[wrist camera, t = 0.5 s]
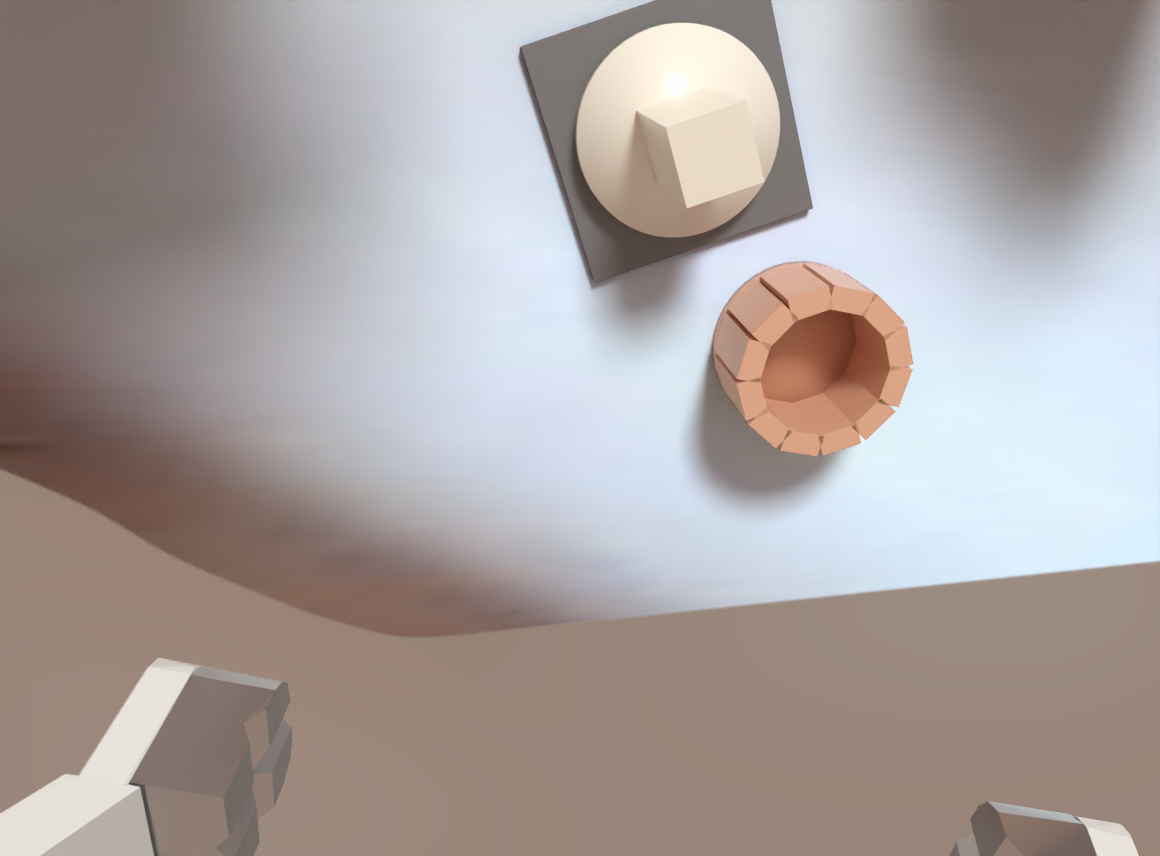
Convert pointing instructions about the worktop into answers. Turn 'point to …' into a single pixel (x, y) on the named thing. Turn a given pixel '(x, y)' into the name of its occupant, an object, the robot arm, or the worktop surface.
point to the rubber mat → (558, 82)
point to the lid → (677, 129)
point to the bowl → (811, 357)
